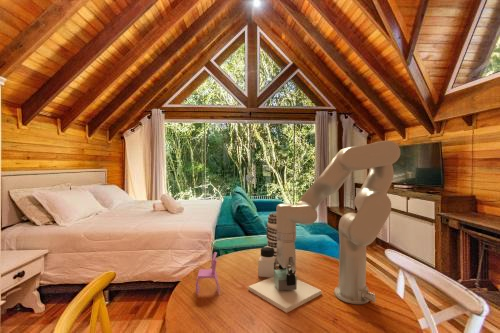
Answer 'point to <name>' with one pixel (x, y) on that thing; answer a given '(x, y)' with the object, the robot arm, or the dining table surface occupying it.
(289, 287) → the sage green cube
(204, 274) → the toy chair
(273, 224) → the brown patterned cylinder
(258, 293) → the post block
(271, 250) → the medicine bottle
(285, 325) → the dining table surface
